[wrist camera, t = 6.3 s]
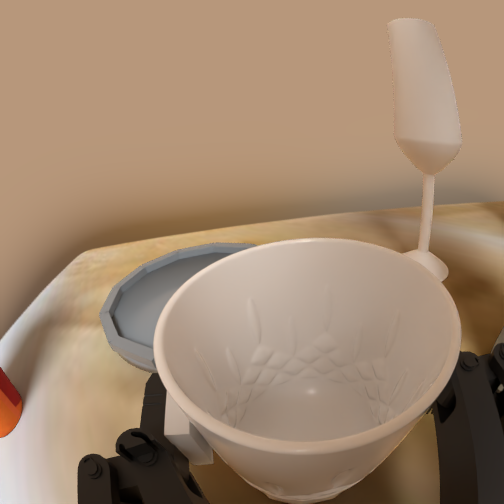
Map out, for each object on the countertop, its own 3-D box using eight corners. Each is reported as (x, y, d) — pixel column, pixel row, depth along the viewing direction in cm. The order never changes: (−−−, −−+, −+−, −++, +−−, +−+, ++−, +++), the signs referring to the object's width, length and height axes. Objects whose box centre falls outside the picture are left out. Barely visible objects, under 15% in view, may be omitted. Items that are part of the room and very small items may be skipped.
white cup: (201, 451, 11) (112, 313, 7) (299, 373, 16) (289, 223, 12) (311, 541, 6) (348, 541, 2) (405, 428, 10) (477, 271, 6)
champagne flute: (459, 269, 22) (457, 32, 12) (424, 293, 20) (416, 8, 10) (416, 246, 28) (406, 39, 17) (378, 263, 26) (361, 25, 16)
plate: (311, 261, 29) (310, 246, 28) (248, 406, 14) (244, 390, 13) (176, 253, 36) (172, 241, 35) (77, 337, 21) (69, 323, 20)
